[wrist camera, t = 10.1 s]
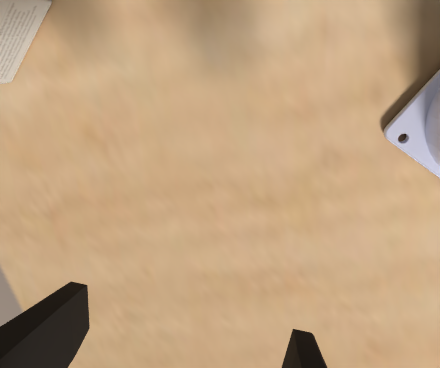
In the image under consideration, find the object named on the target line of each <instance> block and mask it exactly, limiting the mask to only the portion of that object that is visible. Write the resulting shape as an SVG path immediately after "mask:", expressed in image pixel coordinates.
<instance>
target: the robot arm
mask: <svg viewBox="0 0 440 368" xmlns="http://www.w3.org/2000/svg"><path fill="white" fill-rule="evenodd" d="M401 134H406V138H405V140H403V141H400V142H399V141H398V137H399V136H400V135H401ZM384 136H385V138H386V139H387V140H389V141H390V142H391V143H393V144H394V145H395V146H397V147H398V148H399V149H401V150H402V151H403V152H405V153H406V154H408V155H409V156H410V157H412V158H413V159H414V160H416V161H417V162H418V163H420V164H421V165H423V166H424V167H425V168H427V169H428V170H429V171H431V172H432V173H433V174H435V175H436V176H438V177H439V178H440V69H439V70H438V71H437V73H436V74H435V75H434V76H433V77H432V78H431V79H430V80H429V81H428V82H427V83H426V84H425V85H424V86H423V87H422V89H421V90H420V91H419V92H418V93H417V94H416V95H415V96H414V97H413V98H412V99H411V100H410V101H409V102H408V104H407V105H406V106H405V107H404V108H403V109H402V110H401V111H400V112H399V113H398V114H397V115H396V116H395V117H394V119H393V120H392V121H391V122H390V123H389V124H388V125H387V126H386V128H385V129H384ZM88 330H89V310H88V291H87V285H84V284H80V283H75V282H70V283H68V284H66V285H65V286H63V287H62V288H60V289H59V290H57V291H56V292H54V293H52V294H51V295H49V296H48V297H46V298H45V299H43V300H42V301H40V302H39V303H37V304H36V305H34V306H32V307H31V308H29V309H28V310H26V311H25V312H23V313H21V314H20V315H18V316H17V317H15V318H14V319H12V320H10V321H9V322H7V323H6V324H4V325H2V326H1V327H0V368H68V366H69V365H70V363H71V362H72V360H73V358H74V357H75V355H76V353H77V351H78V349H79V348H80V346H81V344H82V342H83V340H84V338H85V336H86V334H87V332H88ZM282 368H327V366H326V364H325V361H324V359H323V357H322V354H321V352H320V350H319V347H318V345H317V342H316V340H315V337H314V335H313V334H312V333H310V332H305V331H301V330H296V329H293V331H292V334H291V338H290V341H289V344H288V348H287V351H286V355H285V358H284V362H283V365H282Z"/></svg>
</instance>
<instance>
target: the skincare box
mask: <svg viewBox="0 0 440 368" xmlns="http://www.w3.org/2000/svg"><path fill="white" fill-rule="evenodd" d="M51 4H52V0H0V84H4V83H10V82H12V80H13V78H14V76H15V74H16V72H17V70H18V68H19V66H20V64H21V62H22V60H23V58H24V56H25V54H26V52H27V50H28V48H29V47H30V45H31V43H32V41H33V39H34V37H35V35H36V33H37V31H38V29H39V27H40V25H41V23H42V21H43V19H44V17H45V15H46V13H47V11H48V9H49V7H50V6H51Z"/></svg>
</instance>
